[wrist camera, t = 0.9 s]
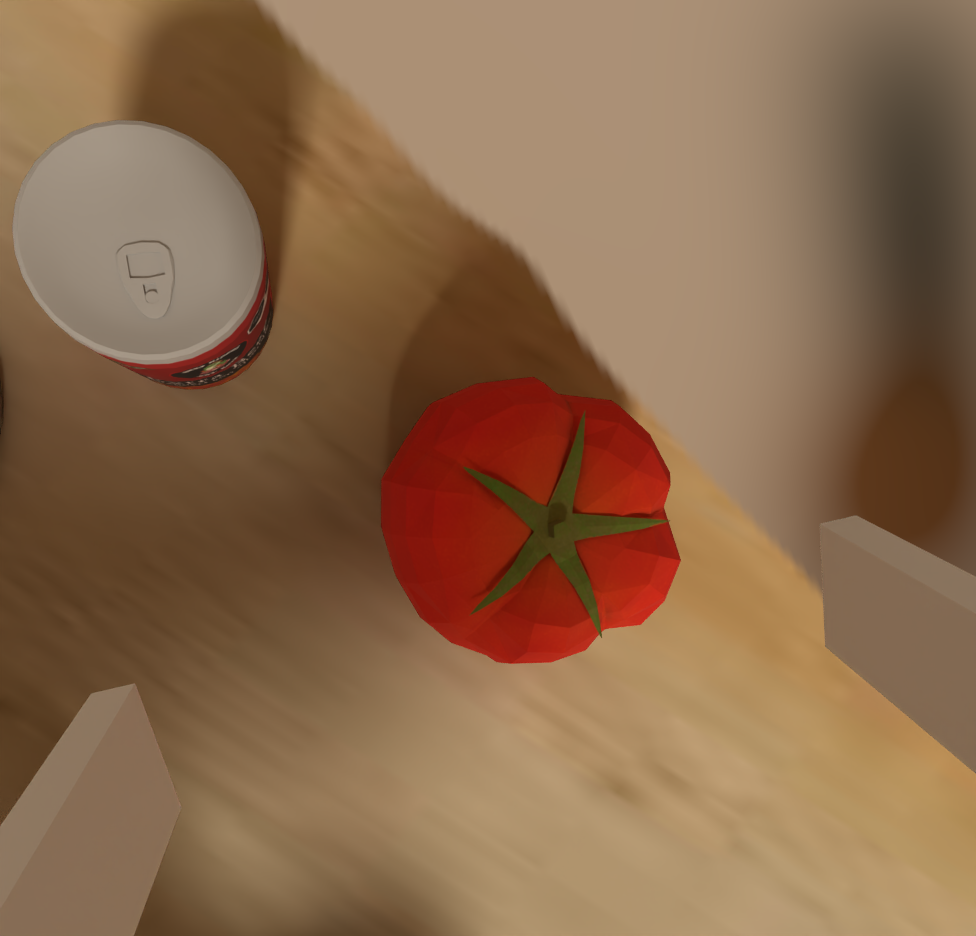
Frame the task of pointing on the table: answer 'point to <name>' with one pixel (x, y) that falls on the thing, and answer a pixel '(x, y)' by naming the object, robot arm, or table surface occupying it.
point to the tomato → (528, 520)
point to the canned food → (146, 252)
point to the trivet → (1, 408)
